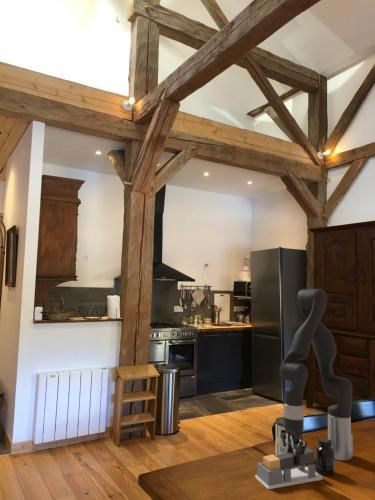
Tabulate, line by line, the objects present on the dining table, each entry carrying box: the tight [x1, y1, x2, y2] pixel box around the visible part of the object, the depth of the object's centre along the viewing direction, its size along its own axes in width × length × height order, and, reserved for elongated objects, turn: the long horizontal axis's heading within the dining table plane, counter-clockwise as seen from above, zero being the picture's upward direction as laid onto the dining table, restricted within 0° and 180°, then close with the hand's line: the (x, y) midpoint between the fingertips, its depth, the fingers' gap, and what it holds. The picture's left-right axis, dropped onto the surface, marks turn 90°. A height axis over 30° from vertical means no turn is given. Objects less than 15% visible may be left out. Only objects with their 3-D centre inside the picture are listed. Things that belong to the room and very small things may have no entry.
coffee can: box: [274, 416, 298, 456], centre depth 167 cm, size 10×10×14 cm
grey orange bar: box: [262, 447, 316, 471], centre depth 146 cm, size 20×4×4 cm, turn 111°
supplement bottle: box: [315, 437, 336, 477], centre depth 152 cm, size 7×7×12 cm
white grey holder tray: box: [254, 461, 324, 490], centre depth 146 cm, size 24×9×6 cm, turn 111°
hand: (293, 462), depth 147 cm, fingers closed on grey orange bar, 3 cm apart
